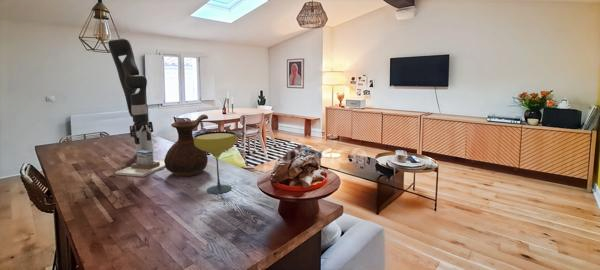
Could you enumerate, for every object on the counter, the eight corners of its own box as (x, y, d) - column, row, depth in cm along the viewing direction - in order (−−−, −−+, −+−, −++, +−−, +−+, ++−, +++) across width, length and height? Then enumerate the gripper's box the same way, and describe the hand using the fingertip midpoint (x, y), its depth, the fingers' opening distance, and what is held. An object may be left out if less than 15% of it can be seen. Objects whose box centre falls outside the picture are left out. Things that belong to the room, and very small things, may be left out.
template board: (148, 161, 193) (147, 156, 192) (173, 163, 188) (173, 158, 187) (115, 174, 170) (114, 168, 170) (143, 176, 165) (142, 170, 165)
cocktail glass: (222, 180, 158) (219, 129, 153) (247, 187, 146) (244, 133, 141) (190, 191, 144) (184, 136, 139) (214, 200, 133) (210, 141, 128)
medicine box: (137, 166, 179) (135, 151, 177) (144, 164, 183) (142, 149, 181) (147, 168, 176) (145, 152, 174) (154, 166, 180) (152, 151, 178)
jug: (196, 180, 158) (191, 120, 152) (157, 178, 162) (150, 119, 156) (216, 167, 179) (212, 113, 173) (181, 166, 183) (176, 113, 177)
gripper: (143, 111, 181) (147, 139, 184) (123, 114, 167) (127, 145, 171) (154, 111, 179) (158, 139, 182) (135, 115, 165) (139, 145, 169)
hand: (143, 142), depth 176 cm, fingers open, 8 cm apart
